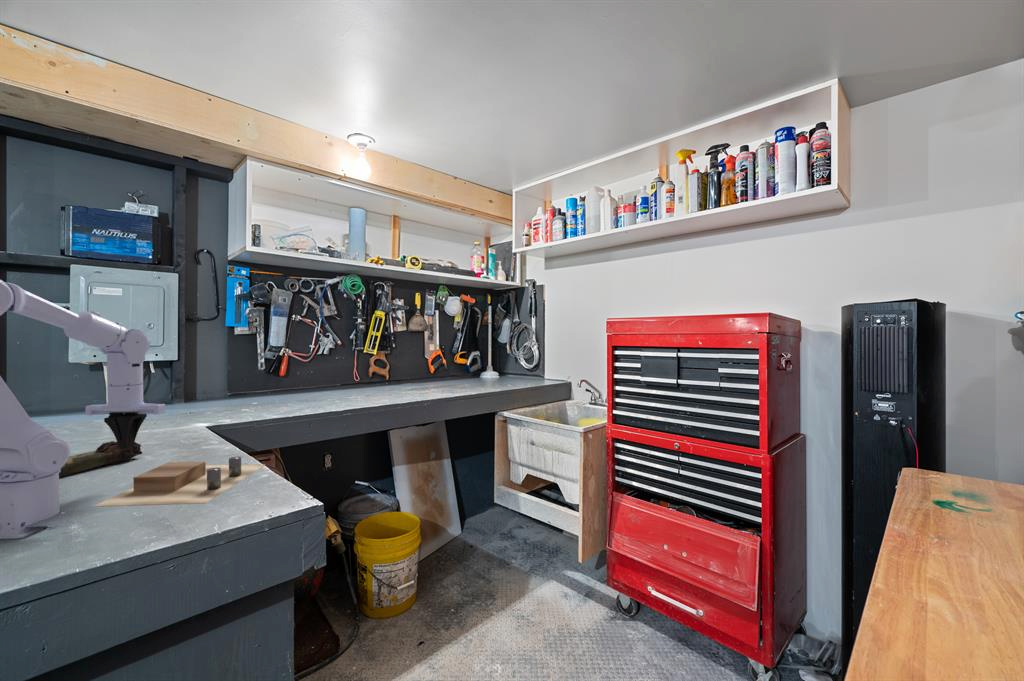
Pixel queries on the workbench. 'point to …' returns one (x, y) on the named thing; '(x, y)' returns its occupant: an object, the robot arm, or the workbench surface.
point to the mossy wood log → (99, 458)
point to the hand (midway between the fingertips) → (126, 447)
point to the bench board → (190, 487)
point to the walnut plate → (169, 476)
